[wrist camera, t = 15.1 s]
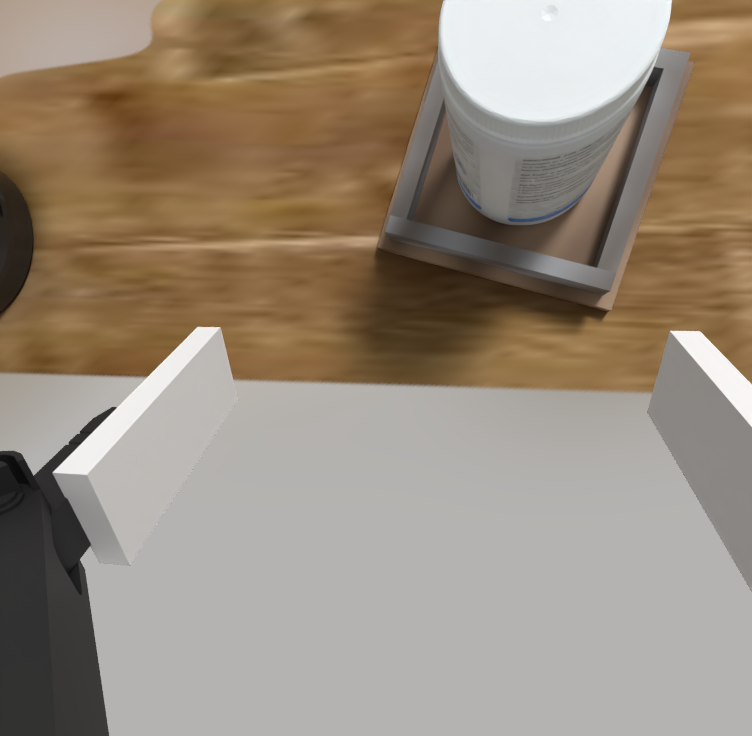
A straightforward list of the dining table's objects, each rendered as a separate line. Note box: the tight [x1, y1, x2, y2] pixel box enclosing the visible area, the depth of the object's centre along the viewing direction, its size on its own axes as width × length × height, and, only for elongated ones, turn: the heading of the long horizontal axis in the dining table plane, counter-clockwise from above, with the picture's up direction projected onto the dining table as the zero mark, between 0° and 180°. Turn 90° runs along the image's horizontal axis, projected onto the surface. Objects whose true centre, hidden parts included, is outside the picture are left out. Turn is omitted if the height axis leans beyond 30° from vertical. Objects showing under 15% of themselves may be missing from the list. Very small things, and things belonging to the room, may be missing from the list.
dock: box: [377, 48, 695, 312], centre depth 34 cm, size 17×17×3 cm
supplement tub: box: [438, 0, 672, 225], centre depth 27 cm, size 10×10×15 cm
